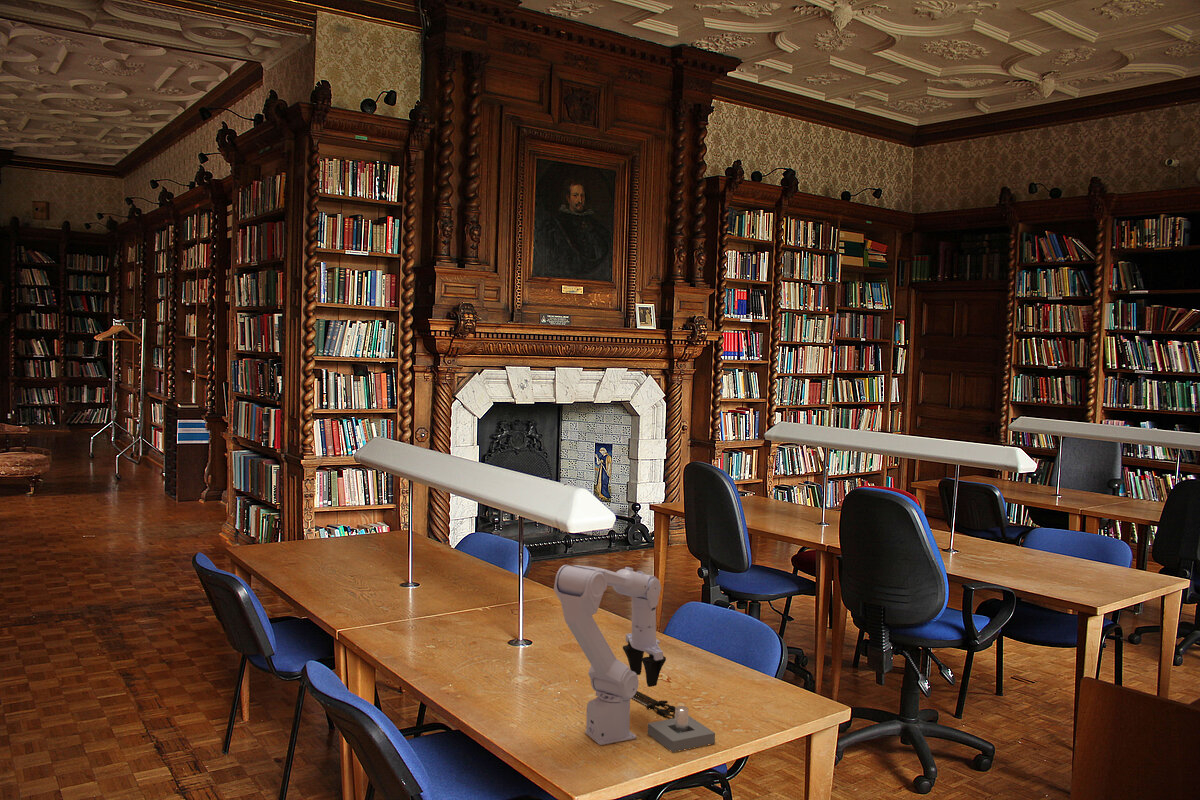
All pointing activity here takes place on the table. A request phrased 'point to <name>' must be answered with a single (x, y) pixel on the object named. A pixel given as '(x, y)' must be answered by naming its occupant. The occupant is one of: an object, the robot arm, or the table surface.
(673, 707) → the knife
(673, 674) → the table surface
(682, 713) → the steel pin
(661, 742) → the socket block
